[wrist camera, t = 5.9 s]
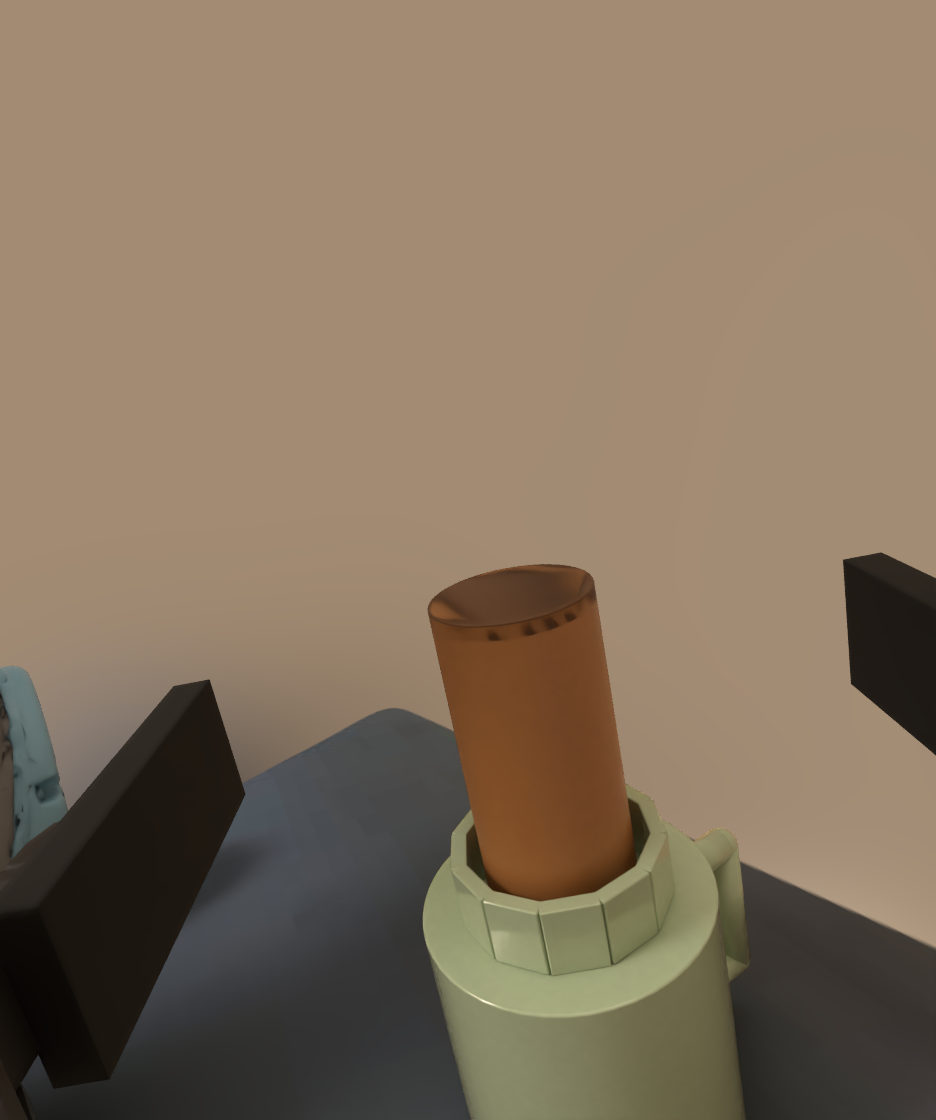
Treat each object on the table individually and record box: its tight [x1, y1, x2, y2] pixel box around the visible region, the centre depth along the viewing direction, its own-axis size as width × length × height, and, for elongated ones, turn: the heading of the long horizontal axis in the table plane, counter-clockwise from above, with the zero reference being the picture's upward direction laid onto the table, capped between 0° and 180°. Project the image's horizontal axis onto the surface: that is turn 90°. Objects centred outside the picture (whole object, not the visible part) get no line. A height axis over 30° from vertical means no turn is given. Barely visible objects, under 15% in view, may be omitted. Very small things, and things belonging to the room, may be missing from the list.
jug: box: [423, 783, 750, 1120], centre depth 30 cm, size 11×14×14 cm
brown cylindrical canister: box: [428, 564, 637, 901], centre depth 27 cm, size 6×6×12 cm
